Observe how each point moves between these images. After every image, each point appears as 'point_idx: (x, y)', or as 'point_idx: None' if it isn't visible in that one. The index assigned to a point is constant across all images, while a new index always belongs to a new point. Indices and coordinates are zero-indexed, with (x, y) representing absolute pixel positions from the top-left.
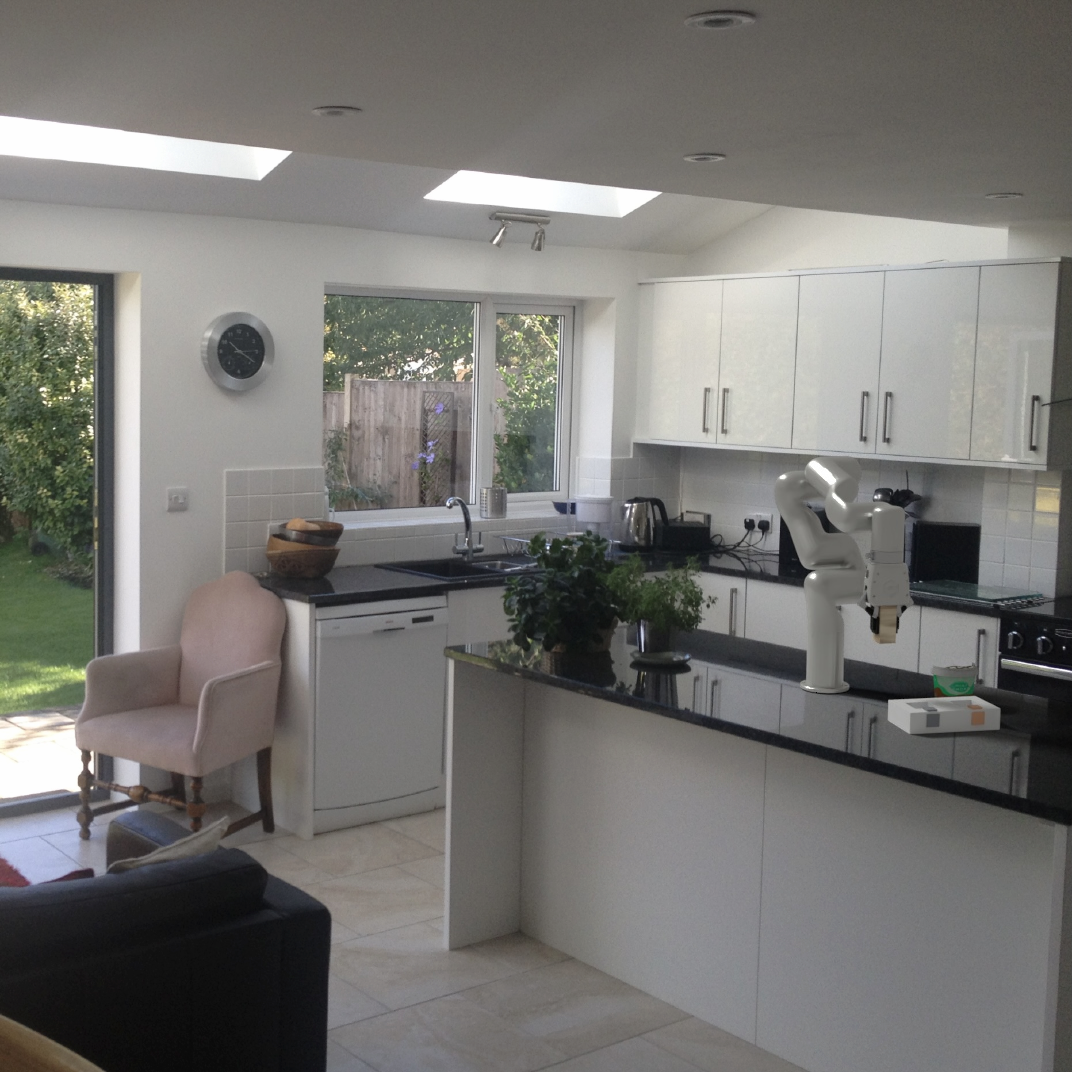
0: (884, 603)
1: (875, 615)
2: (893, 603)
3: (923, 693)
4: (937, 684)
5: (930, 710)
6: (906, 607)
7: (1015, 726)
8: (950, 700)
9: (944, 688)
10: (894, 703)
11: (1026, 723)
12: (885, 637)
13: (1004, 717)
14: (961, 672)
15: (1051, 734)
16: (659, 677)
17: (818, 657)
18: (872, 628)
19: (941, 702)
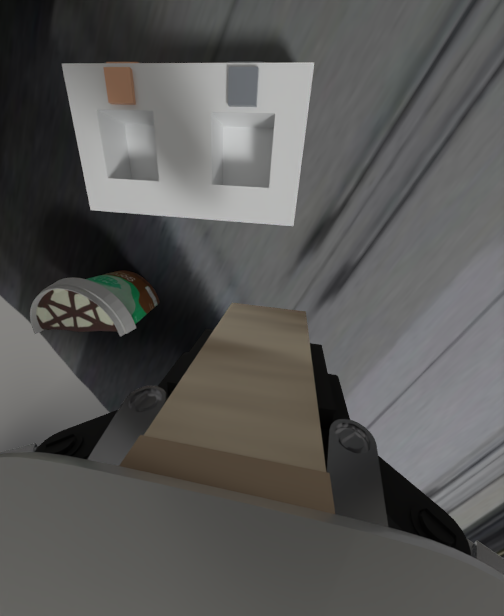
0: (313, 547)
1: (347, 439)
2: (157, 502)
3: (154, 360)
4: (138, 308)
5: (249, 67)
6: (41, 447)
7: (66, 111)
8: (154, 183)
9: (131, 293)
10: (297, 187)
11: (42, 131)
12: (277, 319)
13: (71, 188)
14: (75, 284)
15: (8, 18)
16: (484, 539)
17: None
18: (338, 379)
19: (181, 168)
